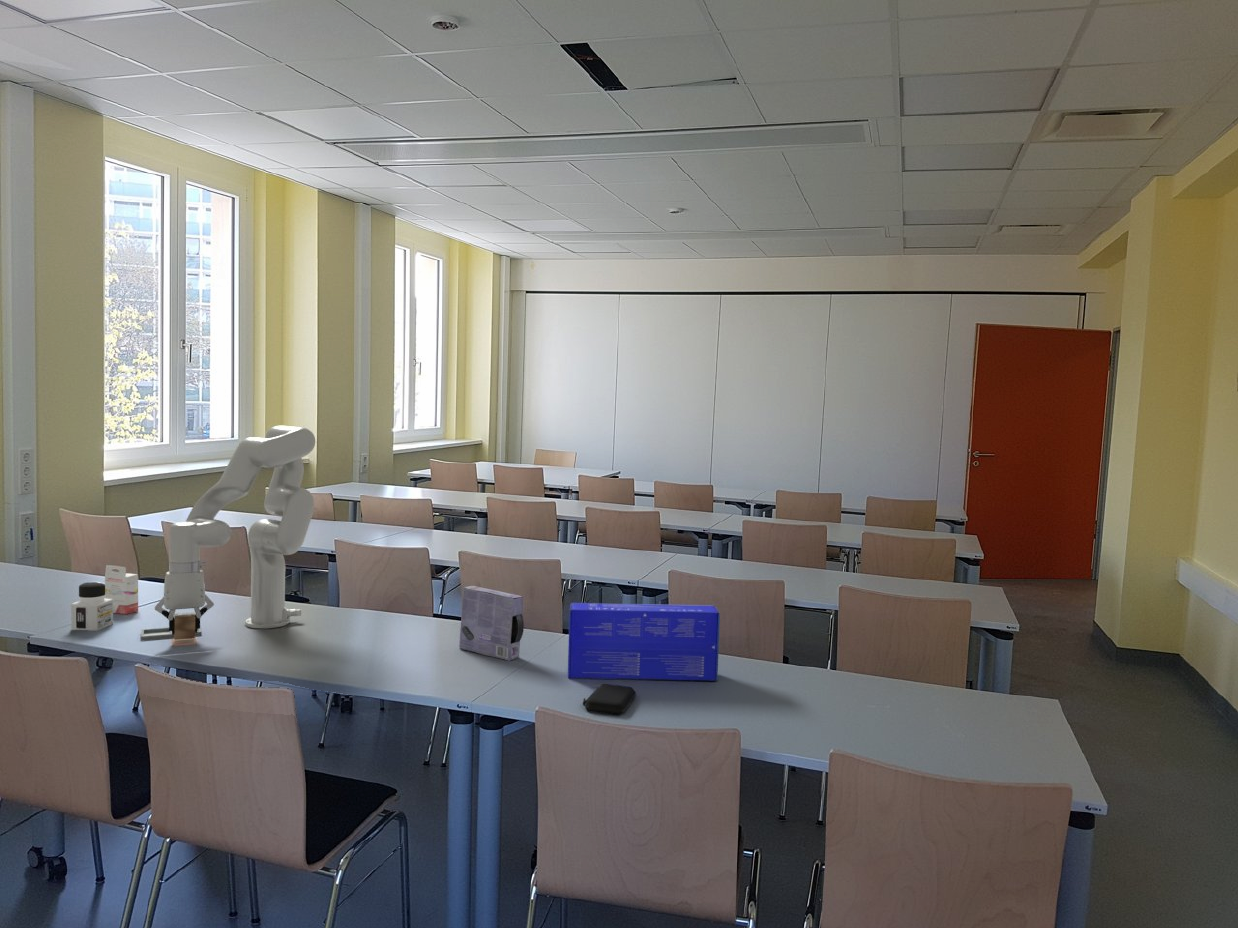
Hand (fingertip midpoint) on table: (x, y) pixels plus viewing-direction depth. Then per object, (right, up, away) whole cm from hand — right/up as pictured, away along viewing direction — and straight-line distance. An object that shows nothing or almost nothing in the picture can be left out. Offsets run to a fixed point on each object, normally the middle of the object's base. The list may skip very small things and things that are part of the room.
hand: (184, 631), depth 241 cm
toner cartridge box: (+126, -10, -12) cm, 126 cm away
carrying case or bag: (+117, -11, -34) cm, 122 cm away
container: (-32, -1, +12) cm, 35 cm away
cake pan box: (+84, -7, +2) cm, 84 cm away
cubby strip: (-7, -2, +7) cm, 10 cm away
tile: (0, -3, 0) cm, 3 cm away
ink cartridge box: (-34, 0, +30) cm, 46 cm away
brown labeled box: (0, -1, 0) cm, 1 cm away
